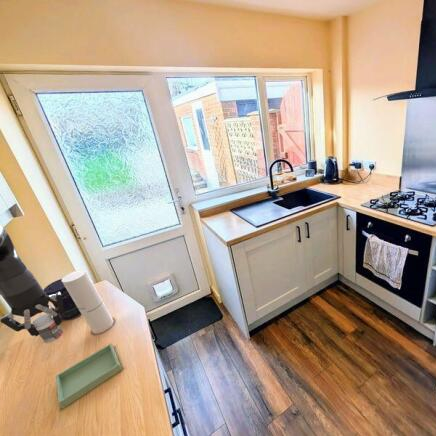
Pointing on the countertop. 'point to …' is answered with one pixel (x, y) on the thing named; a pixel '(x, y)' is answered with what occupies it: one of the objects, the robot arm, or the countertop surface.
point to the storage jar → (63, 300)
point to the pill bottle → (47, 328)
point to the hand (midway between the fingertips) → (48, 328)
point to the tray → (86, 375)
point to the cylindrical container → (88, 301)
